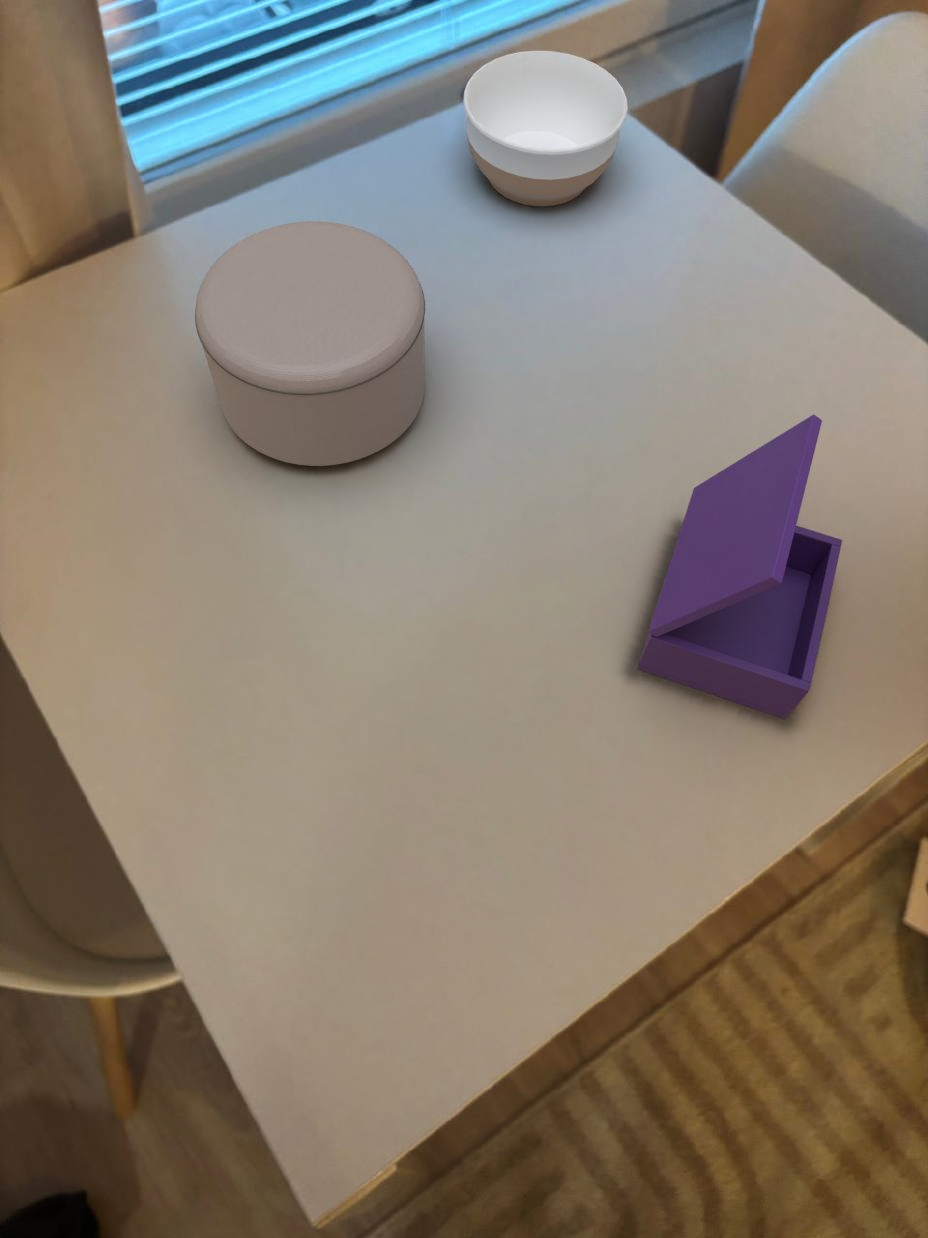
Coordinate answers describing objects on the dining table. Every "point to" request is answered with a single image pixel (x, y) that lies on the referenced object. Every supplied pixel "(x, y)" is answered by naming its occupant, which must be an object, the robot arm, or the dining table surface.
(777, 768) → the dining table surface
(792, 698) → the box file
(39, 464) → the dining table surface
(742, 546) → the lid
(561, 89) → the bowl
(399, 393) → the container
